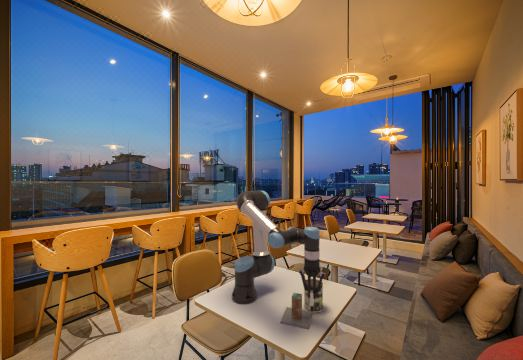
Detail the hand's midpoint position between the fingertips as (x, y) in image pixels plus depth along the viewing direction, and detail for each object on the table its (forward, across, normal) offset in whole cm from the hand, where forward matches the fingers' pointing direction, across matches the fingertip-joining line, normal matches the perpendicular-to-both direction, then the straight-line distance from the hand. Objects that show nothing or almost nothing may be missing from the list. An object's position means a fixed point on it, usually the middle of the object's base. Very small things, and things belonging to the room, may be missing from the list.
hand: (312, 304), depth 117 cm
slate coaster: (+8, -8, 0) cm, 11 cm away
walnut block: (+8, -8, 0) cm, 11 cm away
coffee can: (+9, -1, +12) cm, 15 cm away
